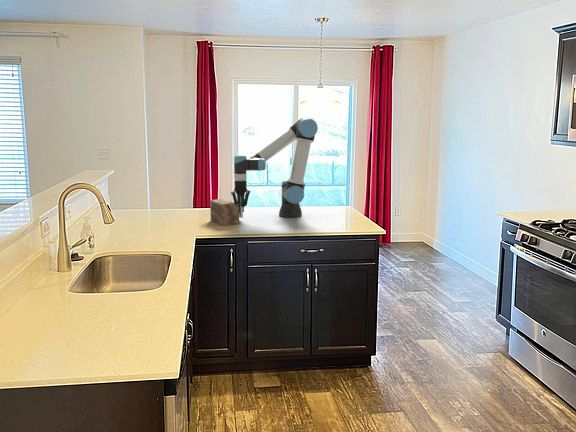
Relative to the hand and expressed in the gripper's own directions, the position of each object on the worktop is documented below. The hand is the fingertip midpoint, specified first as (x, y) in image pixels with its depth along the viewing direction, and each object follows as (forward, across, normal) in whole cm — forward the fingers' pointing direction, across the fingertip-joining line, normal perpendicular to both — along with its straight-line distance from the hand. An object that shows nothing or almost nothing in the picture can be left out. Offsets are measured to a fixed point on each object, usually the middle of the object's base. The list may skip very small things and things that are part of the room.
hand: (240, 217), depth 367 cm
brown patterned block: (+2, +12, 0) cm, 12 cm away
